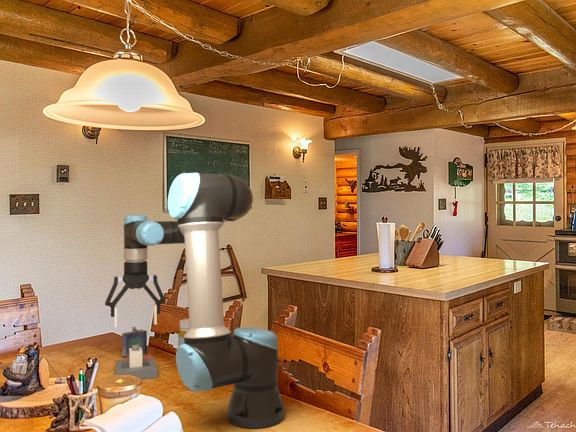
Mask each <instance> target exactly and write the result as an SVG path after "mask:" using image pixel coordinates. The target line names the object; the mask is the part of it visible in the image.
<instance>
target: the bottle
mask: <svg viewBox="0 0 576 432" xmlns="http://www.w3.org/2000/svg"><path fill="white" fill-rule="evenodd" d="M189 328H190V325H189V318H183V319H180V320H179V331H178V335H177V336H178V340H177V344H178V345H177V346H178V347H179V346H181V345H182V344H184V335H185V334H186V333H187V331H188V330H189ZM178 347H177V348H178Z"/></svg>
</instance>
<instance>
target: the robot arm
mask: <svg viewBox="0 0 576 432" xmlns="http://www.w3.org/2000/svg"><path fill="white" fill-rule="evenodd" d="M167 195H168V197H167V210H168V212H169V213H168V214H169V216H170V218H172V219H174V220H168V221H167V220H165V221H163V220H159V221H158V220H157V221H156V220H155V221H154V220H151V221H150V220H148V216H147V215H144V214H127V215H125V216H124V220H123V260H124V262H123V276H117V275H115V276H114V278H113V284H112V286H111V289H110V291H109V293H108V295H107V297H106V299H105V302H104V305H105V306H107V307H110V317H111V318H114V328H117V327H118V306H117V304H118V303H119V301H120V300H121V298H122V297H123V296H124V295H125V293H126V292H127V291H128V290H129V289H130V290H135V289H139V290H141V289H142V288H143V289H144V291H146V292H147V294H148V296H149V297H151V299H152V300H153V302H155V303H153V324H154V325H158V322H157V321H158V317H157V316H158V315H160V313H161V304H163V303H166V298H165V295H164V294H163V292H162V289H161V287H160V284H159V283H158V276H157V274H152V275H149V274H148V261H147V260H148V246H156V245H173V244H174V245H177V244H180V245H181V244H184V250H185V252H184V253H185V267H186V268H185V271H186V284H187V303H188V305H187V306H188V307H187V308H188V319H189V325H190V328H189V330H188V331H187V333H186V334H185V335H184V344H182V345H181V346H179V347H177V349H176V353H175V363H176V369H177V372H178V375H179V378H180V380H181V382H182V383H183V386H185V387H186V388H187V389H188V390H189V391H191V392H194V393H195V392H197V393H198V392H203V391H209V392H210V391H211V390H213V389H217V388H222V387H225V386H230V385H233V389H232V392H231V395H230V398H229V401H228V404H227V408H226V420H227V421H228V422H229V423H230V424H232V425H234V426H236V427H239V428H246V429H263V428H268V427H272V426H275V425H277V424H279V423H280V422H281V421H283V419H284V417H285V415H284V414H285V408H284V404H283V401H282V398H281V395H280V391H279V388H278V357H279V356H278V353H279V352H278V351H279V345H278V336H277V334H276V333H275V332H273V331H271V330H268V329H263V328H259V327H236V328H235V329H234V330H233V332H232V331H231V330H230V329H229V328H228V327H227V326H226V325H225V321H224V320H225V317H224V304H223V285H222V284H223V283H222V272H221V271H222V270H221V257H220V256H221V255H220V239H219V237H220V236H219V231H220V230H221V228H222V227H223V225H224V224H225V223H226V222H236V221H238V220H240V219H241V218H243V217H245V216H246V215H247V214H248V213H249V212H250V210H251V209H252V206H253V202H254V201H253V200H254V197H253V192H252V189H251V187H250V185H248V183H247V181H245V180H243V179H242V178H241V177H238V176H236V175H232V174H218V173H215V174H214V173H205V172H204V173H202V172H201V173H200V172H188V173H187V172H184V173H180V174H179V175H177V176H176V177H175V178H174V179H173V180H172V184H171V186H170V187H169V191H168V194H167ZM149 280H150V281H151V282H152V283H153V285H154V287H155V289H156V291H157V294H158V296H159V299H158V297H157V296H156V294H154V292H153V291H152V290H151V289H150V287H149V286H148V285H147V282H148V281H149ZM121 281H122V282H124V286H123V287H122V289H120V291H119V293H118V294H117V295H116V296H115V298H114V299H113V296H114V294H115V291H117V290H116V289H117V287H118V285H119V284H121ZM112 299H113V300H112ZM111 300H112V302H111ZM231 332H232V333H231ZM232 335H233V336H232Z"/></svg>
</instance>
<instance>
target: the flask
mask: <svg viewBox="0 0 576 432" xmlns="http://www.w3.org/2000/svg"><path fill="white" fill-rule="evenodd" d="M131 328H132V329H131V331H127V332H123V333H122V334H121V356H122V358H124V359H125V358H129V348H132V345H134V344H139V347H141V348H142V356H145V355H147V353H148V352H147V351H148V349H147V348H148V347H147V345H148V344H147V341H148V339H147V337H148V335H147V333H148V332H147V330H145V329H137V327H136V326H132V327H131ZM144 354H145V355H144Z"/></svg>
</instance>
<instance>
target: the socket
mask: <svg viewBox="0 0 576 432" xmlns="http://www.w3.org/2000/svg"><path fill="white" fill-rule="evenodd" d="M114 372H115V373H114V375H132V376H136V377H139V378H141V380H149V379H157V378H158V367H157V363H156V360H155V356H153V355H152V354H151V355H142V367H134V368H129V358H127V359H125V358H124V359H116V360H115V361H114Z"/></svg>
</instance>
